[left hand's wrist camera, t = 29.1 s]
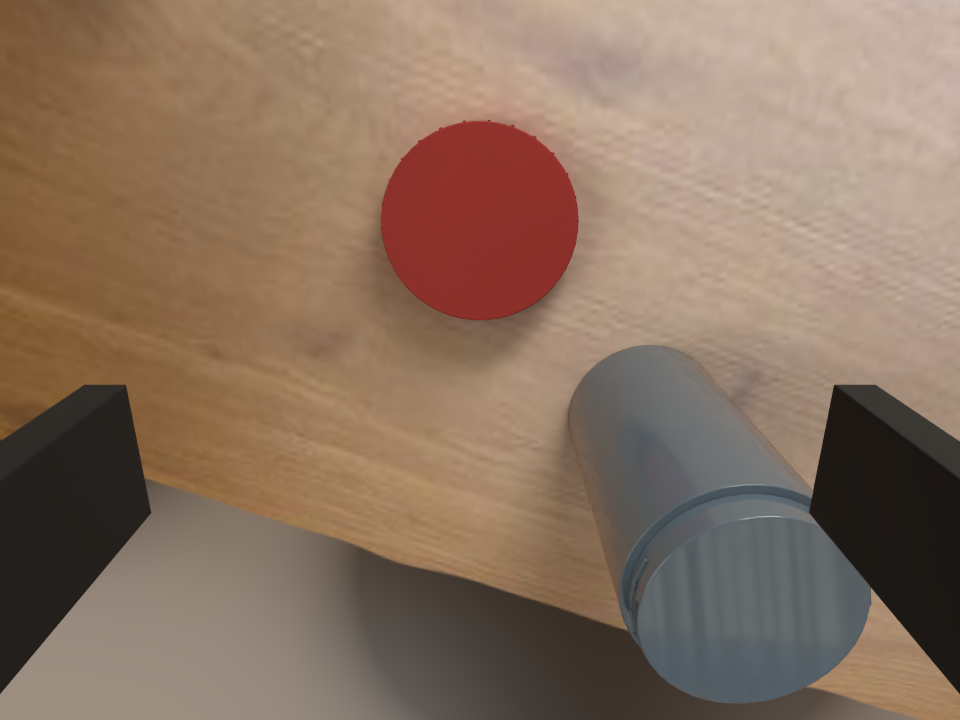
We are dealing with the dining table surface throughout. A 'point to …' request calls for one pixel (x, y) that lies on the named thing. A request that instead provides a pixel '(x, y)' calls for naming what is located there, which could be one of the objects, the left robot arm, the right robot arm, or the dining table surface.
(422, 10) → the dining table surface
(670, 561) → the jar
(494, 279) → the lid
